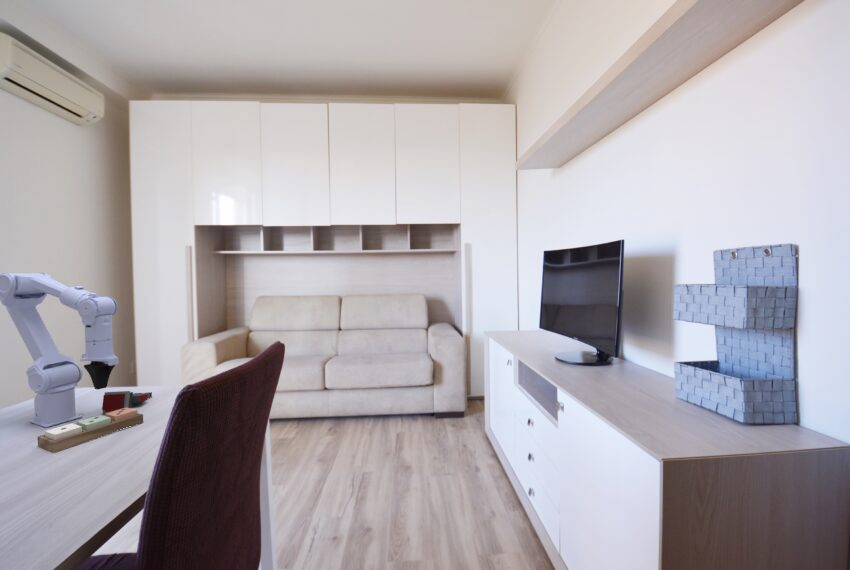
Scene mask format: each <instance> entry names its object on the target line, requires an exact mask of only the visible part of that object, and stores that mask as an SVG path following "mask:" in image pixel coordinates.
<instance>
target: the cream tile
mask: <svg viewBox="0 0 850 570" xmlns="http://www.w3.org/2000/svg"><path fill="white" fill-rule="evenodd" d="M81 432H82V426H79V425H77V424H75V423H73V422H72V423H67V424H64V425H62V426H58V427H55V428H51V429H47V430H44V435H45V438H48V439H50V440H53V441H55V440H58V439H62V438H65V437H68V436H71V435H74V434H77V433H81Z"/></svg>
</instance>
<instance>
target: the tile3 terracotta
mask: <svg viewBox="0 0 850 570" xmlns="http://www.w3.org/2000/svg"><path fill="white" fill-rule="evenodd" d="M137 413H138V412H137V409H134V408H132V407H130V408H127V407H126V408H123V409H119V410H116V411H112V412H109V413H105V414H104V416H106V417H110V418H111V421H114V422H116V421H119V420H122V419H125V418H128V417H131V416H135V415H137Z"/></svg>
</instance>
